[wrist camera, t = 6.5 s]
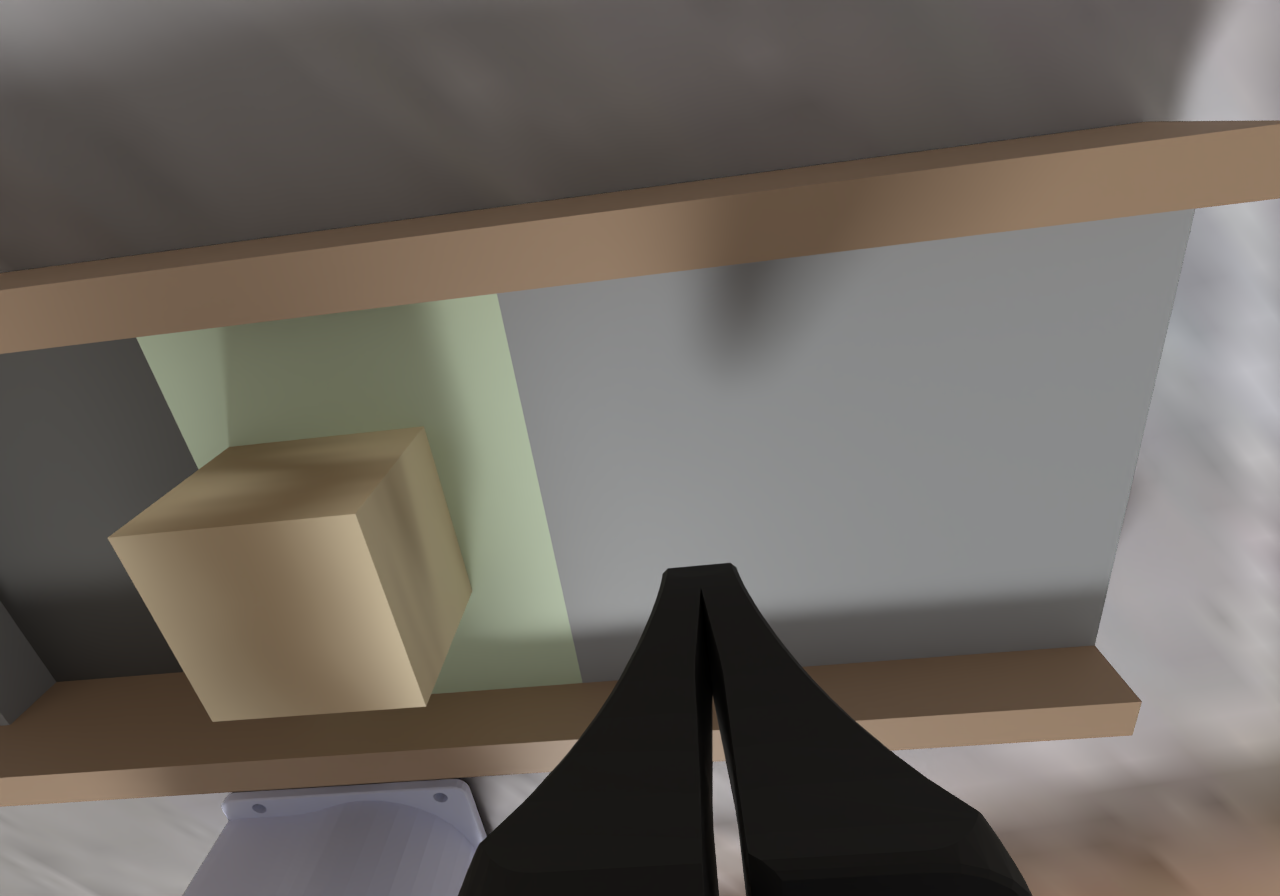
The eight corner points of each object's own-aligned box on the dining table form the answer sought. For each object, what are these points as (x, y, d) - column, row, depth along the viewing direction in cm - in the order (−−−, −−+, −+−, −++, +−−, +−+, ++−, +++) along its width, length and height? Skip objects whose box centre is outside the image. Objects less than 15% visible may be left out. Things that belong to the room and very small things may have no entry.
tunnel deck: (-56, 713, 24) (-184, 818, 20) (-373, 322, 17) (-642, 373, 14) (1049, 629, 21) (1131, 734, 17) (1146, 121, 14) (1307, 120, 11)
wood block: (299, 606, 18) (212, 721, 15) (228, 446, 16) (107, 538, 13) (472, 591, 18) (426, 706, 14) (423, 426, 16) (355, 513, 12)
